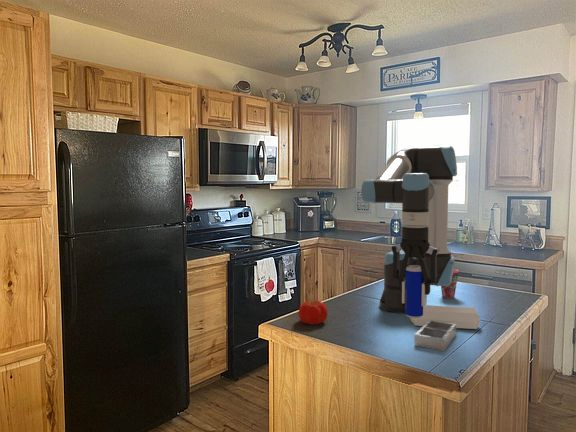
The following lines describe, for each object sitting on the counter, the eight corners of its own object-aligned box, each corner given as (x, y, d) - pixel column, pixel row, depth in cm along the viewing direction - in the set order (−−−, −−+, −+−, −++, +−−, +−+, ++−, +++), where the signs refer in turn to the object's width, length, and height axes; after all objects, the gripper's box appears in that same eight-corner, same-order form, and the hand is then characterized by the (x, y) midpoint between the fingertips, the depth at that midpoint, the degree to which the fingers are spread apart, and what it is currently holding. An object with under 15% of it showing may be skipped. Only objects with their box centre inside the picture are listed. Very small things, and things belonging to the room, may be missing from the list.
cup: (456, 300, 190) (457, 272, 189) (436, 297, 195) (436, 270, 194) (460, 295, 198) (461, 269, 197) (441, 293, 203) (441, 267, 202)
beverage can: (409, 312, 136) (410, 263, 135) (425, 315, 133) (426, 266, 132) (402, 316, 133) (402, 266, 131) (418, 319, 129) (419, 269, 128)
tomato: (319, 316, 170) (319, 297, 169) (332, 325, 160) (332, 304, 159) (293, 319, 166) (293, 300, 166) (305, 329, 156) (305, 308, 155)
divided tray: (414, 345, 140) (414, 334, 139) (428, 329, 154) (429, 319, 154) (444, 351, 135) (444, 339, 135) (456, 334, 149) (456, 324, 149)
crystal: (410, 317, 155) (484, 322, 150) (409, 303, 161) (480, 306, 156) (409, 332, 160) (481, 336, 155) (408, 317, 165) (477, 321, 160)
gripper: (380, 225, 132) (380, 302, 134) (444, 229, 122) (442, 311, 125) (389, 223, 138) (389, 296, 140) (450, 226, 129) (448, 304, 131)
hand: (414, 303), depth 133 cm, fingers closed on beverage can, 5 cm apart
